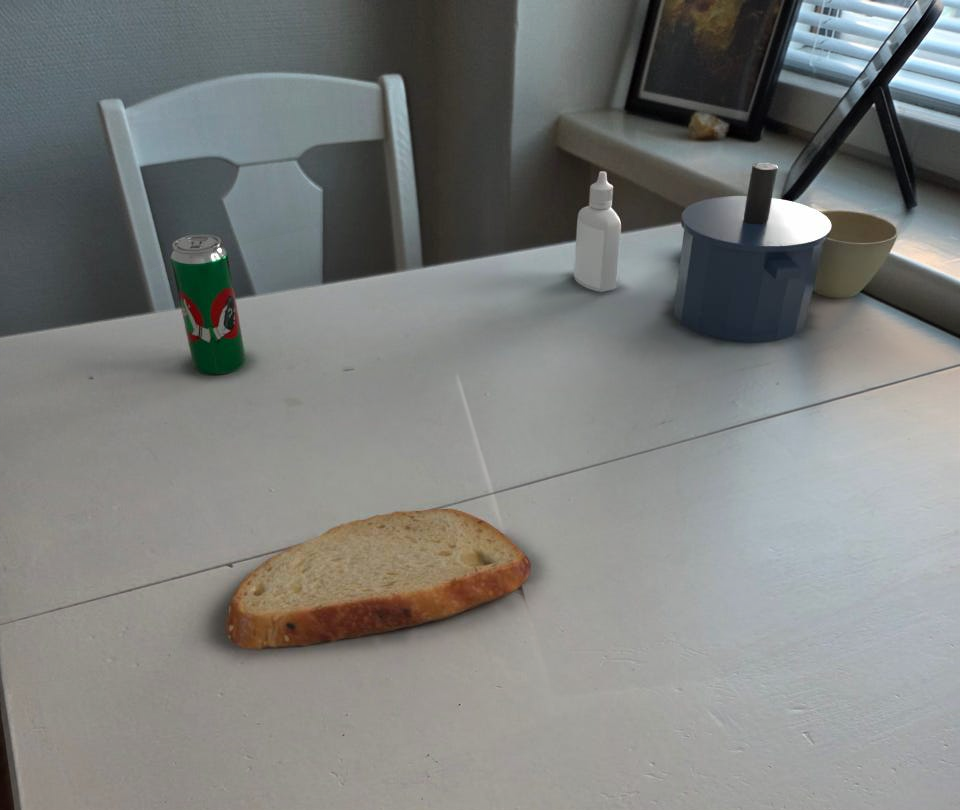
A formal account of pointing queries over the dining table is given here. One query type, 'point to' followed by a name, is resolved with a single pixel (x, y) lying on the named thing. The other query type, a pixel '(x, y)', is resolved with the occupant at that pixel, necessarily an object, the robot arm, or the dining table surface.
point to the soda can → (208, 304)
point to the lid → (756, 219)
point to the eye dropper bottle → (598, 239)
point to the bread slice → (375, 579)
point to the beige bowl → (852, 252)
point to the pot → (744, 291)
